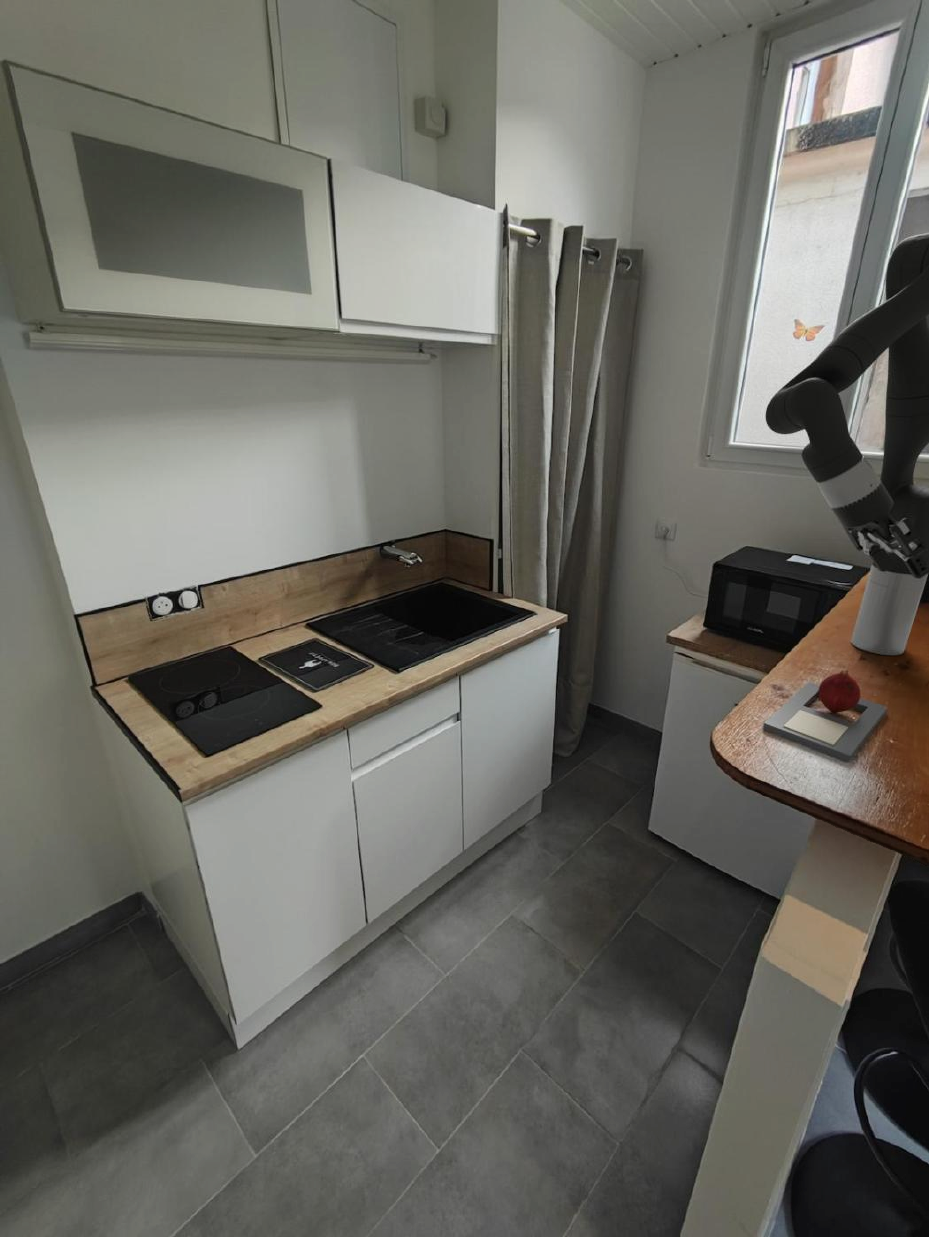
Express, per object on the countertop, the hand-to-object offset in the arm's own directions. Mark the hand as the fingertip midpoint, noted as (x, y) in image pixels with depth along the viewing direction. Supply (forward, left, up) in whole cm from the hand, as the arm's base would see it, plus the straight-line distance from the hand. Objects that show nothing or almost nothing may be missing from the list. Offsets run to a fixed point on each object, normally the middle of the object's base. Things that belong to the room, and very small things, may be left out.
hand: (904, 571), depth 94 cm
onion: (+13, -2, -23) cm, 26 cm away
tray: (+17, -2, -22) cm, 28 cm away
